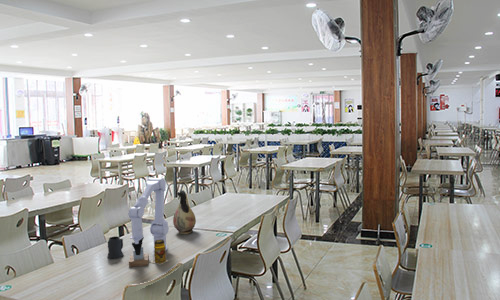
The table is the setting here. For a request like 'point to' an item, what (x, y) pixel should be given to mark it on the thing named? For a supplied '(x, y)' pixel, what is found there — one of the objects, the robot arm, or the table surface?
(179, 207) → the ceramic jug
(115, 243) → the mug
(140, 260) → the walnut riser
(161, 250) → the condiment
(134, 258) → the blue cube
